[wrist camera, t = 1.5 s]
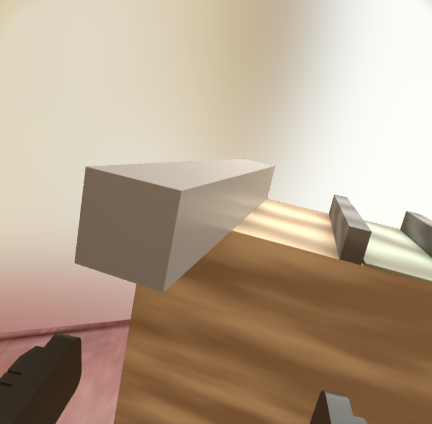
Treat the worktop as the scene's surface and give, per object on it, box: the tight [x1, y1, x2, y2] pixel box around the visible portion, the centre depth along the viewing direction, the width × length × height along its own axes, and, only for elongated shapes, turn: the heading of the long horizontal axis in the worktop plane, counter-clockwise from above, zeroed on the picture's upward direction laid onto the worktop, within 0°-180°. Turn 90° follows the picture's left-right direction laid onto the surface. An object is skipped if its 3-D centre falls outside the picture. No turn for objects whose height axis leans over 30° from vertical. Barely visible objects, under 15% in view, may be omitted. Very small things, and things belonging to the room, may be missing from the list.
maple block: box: [114, 195, 432, 424], centre depth 31 cm, size 16×21×34 cm
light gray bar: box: [75, 159, 275, 292], centre depth 24 cm, size 26×4×4 cm, turn 164°
